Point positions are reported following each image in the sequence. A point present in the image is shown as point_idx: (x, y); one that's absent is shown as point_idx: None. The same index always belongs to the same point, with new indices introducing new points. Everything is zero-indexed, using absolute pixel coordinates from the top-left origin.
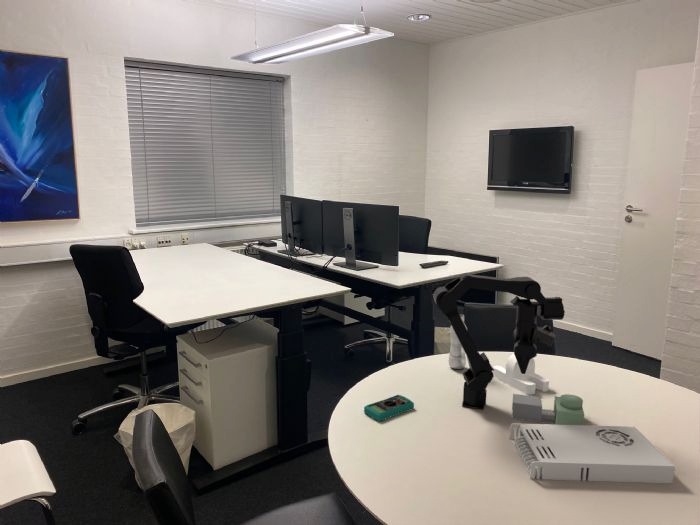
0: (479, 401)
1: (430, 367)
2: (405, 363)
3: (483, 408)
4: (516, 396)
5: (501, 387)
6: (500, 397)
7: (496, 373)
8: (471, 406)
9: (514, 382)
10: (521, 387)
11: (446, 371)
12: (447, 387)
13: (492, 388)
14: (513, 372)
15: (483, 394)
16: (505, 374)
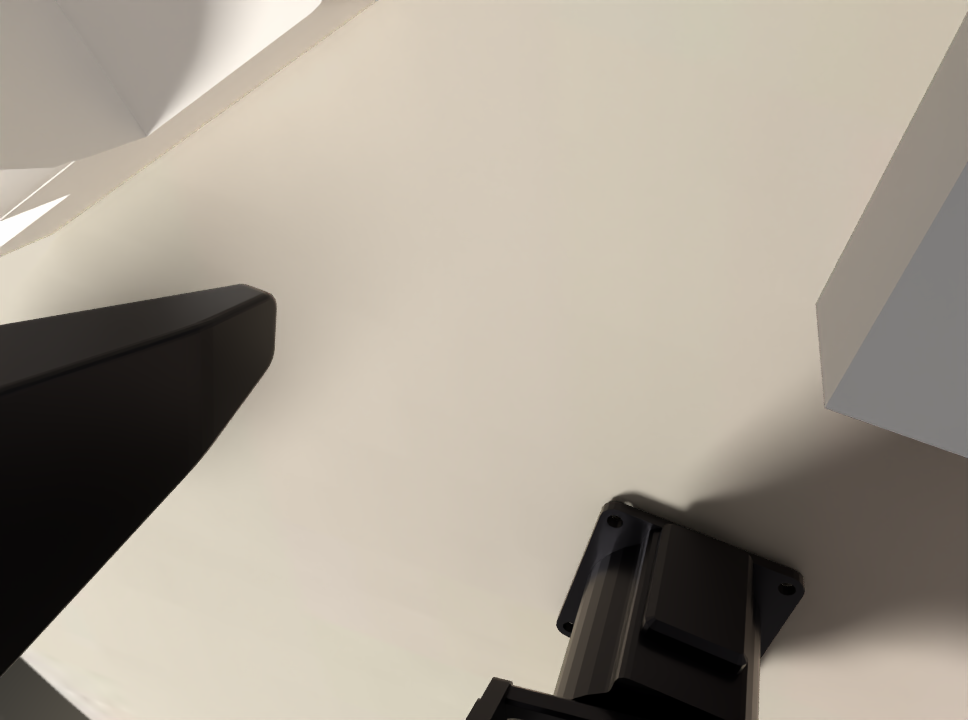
0: (755, 636)
1: (76, 608)
2: (78, 702)
3: (798, 575)
4: (939, 400)
5: (270, 234)
6: (514, 325)
7: (34, 234)
8: (761, 655)
9: (203, 109)
10: (299, 44)
11: None
12: (371, 639)
13: (314, 328)
14: (93, 151)
15: (749, 668)
16: (79, 191)
